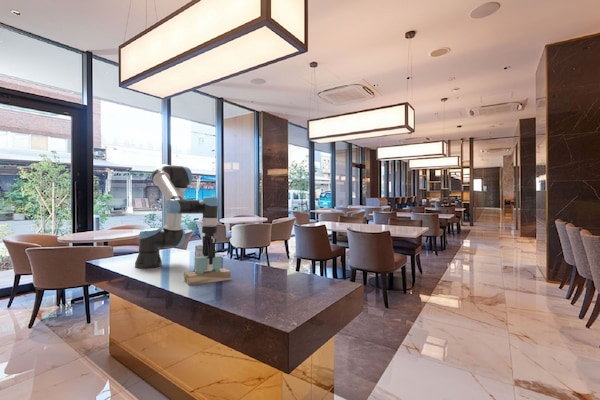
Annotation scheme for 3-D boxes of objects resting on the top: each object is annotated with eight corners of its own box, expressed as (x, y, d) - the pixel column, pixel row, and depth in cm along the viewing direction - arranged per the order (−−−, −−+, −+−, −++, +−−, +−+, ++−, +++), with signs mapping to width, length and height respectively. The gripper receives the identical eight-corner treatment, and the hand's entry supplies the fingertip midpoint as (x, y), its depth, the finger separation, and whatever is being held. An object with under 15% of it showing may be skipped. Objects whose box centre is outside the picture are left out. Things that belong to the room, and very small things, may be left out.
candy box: (203, 274, 171) (205, 245, 171) (193, 273, 171) (194, 245, 171) (211, 268, 184) (212, 242, 185) (202, 268, 185) (203, 242, 185)
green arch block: (194, 275, 156) (194, 256, 156) (217, 273, 164) (218, 254, 164) (196, 277, 152) (197, 258, 152) (221, 274, 160) (221, 256, 160)
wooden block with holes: (183, 281, 155) (184, 272, 155) (223, 275, 168) (224, 268, 168) (189, 285, 148) (189, 276, 148) (230, 279, 161) (230, 271, 161)
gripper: (197, 224, 163) (195, 266, 163) (208, 227, 149) (207, 273, 149) (210, 224, 167) (208, 265, 167) (223, 226, 154) (221, 272, 153)
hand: (208, 269), depth 158 cm, fingers closed on green arch block, 4 cm apart
